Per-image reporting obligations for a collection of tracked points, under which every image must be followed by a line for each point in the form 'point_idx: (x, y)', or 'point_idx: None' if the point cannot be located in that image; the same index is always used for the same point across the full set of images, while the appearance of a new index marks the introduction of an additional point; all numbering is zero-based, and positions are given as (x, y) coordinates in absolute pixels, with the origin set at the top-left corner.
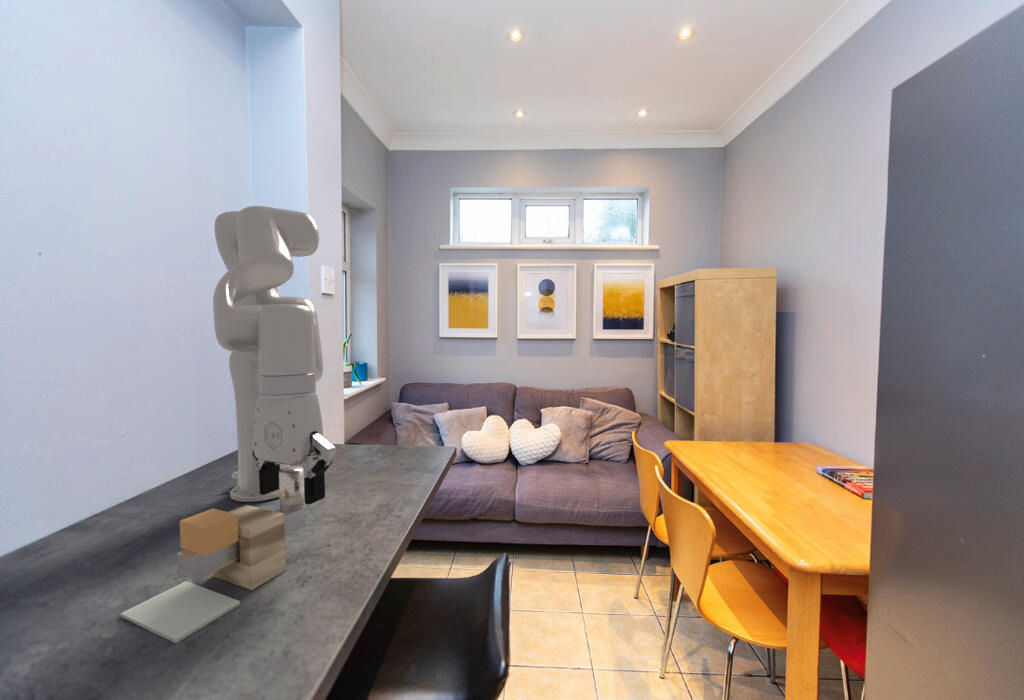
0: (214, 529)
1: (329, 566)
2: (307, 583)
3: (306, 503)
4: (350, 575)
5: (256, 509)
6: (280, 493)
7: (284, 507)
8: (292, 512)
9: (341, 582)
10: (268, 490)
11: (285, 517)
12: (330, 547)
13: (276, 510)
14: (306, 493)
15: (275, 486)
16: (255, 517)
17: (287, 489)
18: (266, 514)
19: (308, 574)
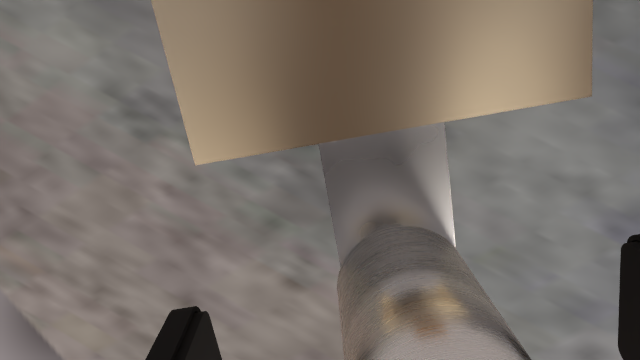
0: None
1: (155, 208)
2: (110, 108)
3: (182, 309)
4: (44, 214)
5: (437, 95)
6: (438, 283)
7: (384, 244)
8: (339, 254)
9: (26, 175)
10: (632, 282)
11: (330, 207)
12: (275, 278)
13: (451, 220)
14: (150, 356)
15: (637, 338)
16: (301, 21)
17: (377, 325)
18: (285, 92)
19: (164, 140)
